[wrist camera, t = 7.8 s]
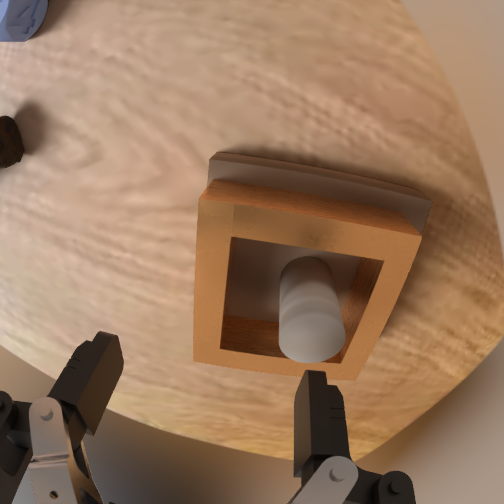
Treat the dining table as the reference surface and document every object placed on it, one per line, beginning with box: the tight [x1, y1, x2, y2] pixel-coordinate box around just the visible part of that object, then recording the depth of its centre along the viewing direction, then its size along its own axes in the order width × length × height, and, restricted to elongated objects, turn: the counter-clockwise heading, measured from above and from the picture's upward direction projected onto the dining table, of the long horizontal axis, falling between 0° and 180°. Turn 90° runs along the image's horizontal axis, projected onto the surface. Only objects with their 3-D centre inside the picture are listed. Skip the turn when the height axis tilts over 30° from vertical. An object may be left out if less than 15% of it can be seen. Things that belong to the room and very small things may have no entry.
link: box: [193, 179, 422, 381], centre depth 16 cm, size 10×10×3 cm
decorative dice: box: [0, 0, 48, 42], centre depth 10 cm, size 4×4×4 cm
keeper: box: [207, 152, 432, 363], centre depth 16 cm, size 12×12×7 cm
